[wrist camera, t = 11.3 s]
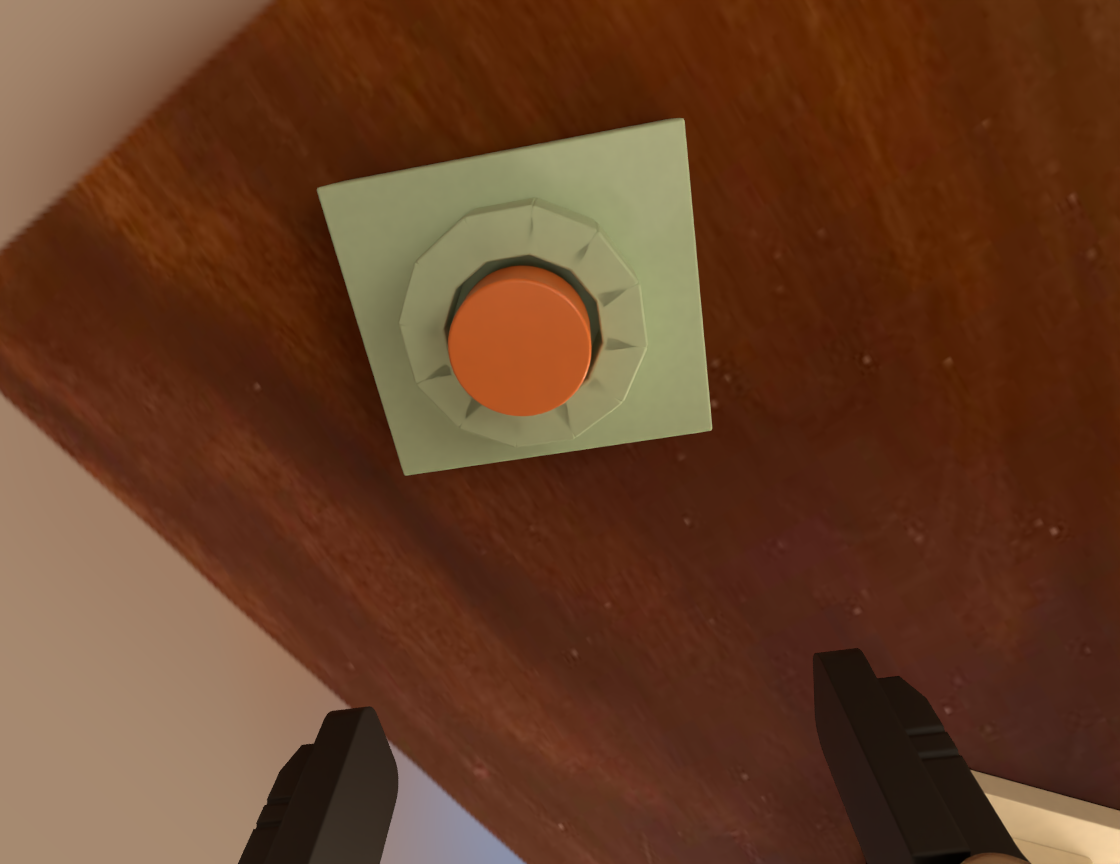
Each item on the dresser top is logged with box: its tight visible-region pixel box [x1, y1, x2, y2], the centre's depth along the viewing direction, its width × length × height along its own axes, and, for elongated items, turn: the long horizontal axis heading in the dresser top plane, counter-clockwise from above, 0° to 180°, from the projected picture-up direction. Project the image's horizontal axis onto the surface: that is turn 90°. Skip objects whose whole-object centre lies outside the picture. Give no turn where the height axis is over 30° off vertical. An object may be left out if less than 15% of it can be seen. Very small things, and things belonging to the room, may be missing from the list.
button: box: [448, 265, 592, 416], centre depth 18 cm, size 4×4×2 cm
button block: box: [317, 118, 712, 476], centre depth 20 cm, size 10×9×4 cm
